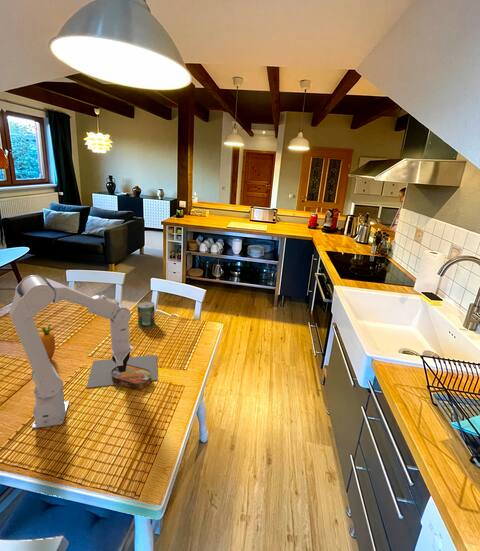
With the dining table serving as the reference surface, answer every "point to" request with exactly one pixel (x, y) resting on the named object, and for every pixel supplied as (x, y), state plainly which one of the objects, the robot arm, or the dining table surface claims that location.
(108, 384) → the mat
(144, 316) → the canned tomato
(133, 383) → the tin
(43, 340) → the carrot
